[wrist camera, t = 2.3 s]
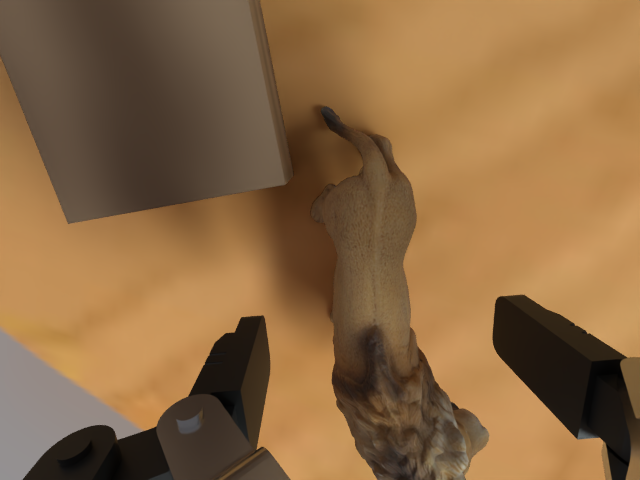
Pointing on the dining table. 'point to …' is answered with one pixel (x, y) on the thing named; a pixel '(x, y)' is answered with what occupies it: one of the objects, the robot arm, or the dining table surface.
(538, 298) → the dining table surface
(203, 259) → the dining table surface
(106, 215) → the taupe rectangular block
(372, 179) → the lion figurine
